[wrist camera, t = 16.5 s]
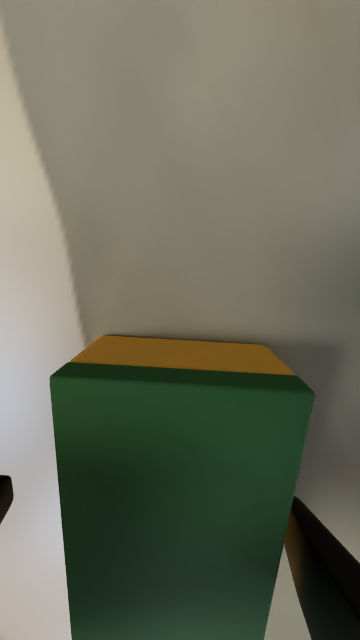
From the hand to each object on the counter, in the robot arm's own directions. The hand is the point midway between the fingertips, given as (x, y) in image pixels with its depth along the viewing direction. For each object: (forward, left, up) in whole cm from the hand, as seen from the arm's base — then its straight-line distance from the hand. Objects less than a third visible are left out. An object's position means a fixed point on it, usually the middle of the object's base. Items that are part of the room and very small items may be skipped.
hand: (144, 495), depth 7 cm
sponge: (0, -1, -2) cm, 2 cm away
